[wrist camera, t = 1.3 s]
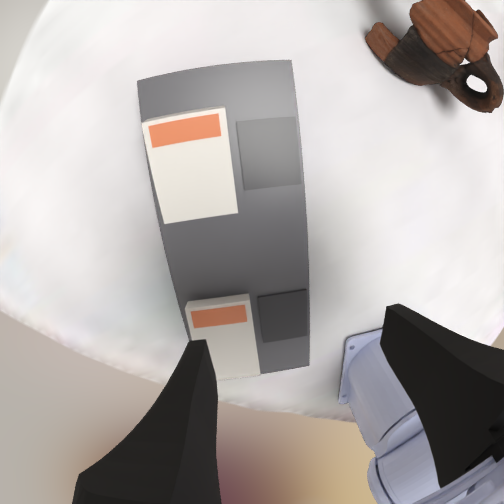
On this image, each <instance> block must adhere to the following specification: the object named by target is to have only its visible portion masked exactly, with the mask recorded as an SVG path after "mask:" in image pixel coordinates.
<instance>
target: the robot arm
mask: <svg viewBox="0 0 504 504" xmlns="http://www.w3.org/2000/svg"><path fill="white" fill-rule="evenodd" d="M352 345H353V346H352ZM350 346H351V347H350ZM338 402H339V404H345V403H349V406H350V408H351V410H352V413H353V415H354V417H355V420H356V422H357V425H358V427H359V429H360V432H361V434H362V436H363V439H364V441H365V443H366V445H367V446H368V447H369V448H370V449H371V450H373V451H374V452H375V455H376V457H374V458H372V459H371V461H370V463H369V468H368V472H367V477H368V483H369V487H370V490H371V492H372V494H373V496H374V498H375V500H376V502H377V503H378V504H504V350H502V349H498V348H494V347H491V346H488V345H485V344H482V343H479V342H476V341H474V340H471V339H468V338H466V337H464V336H461V335H459V334H457V333H455V332H453V331H451V330H449V329H447V328H445V327H443V326H441V325H439V324H437V323H435V322H433V321H431V320H430V319H428V318H426V317H424V316H422V315H420V314H419V313H417V312H415V311H413V310H411V309H409V308H407V307H405V306H403V305H401V304H399V303H398V304H395V305H391V306H387V307H386V313H385V318H384V324H383V329H380V330H377V331H373V332H369V333H365V334H361V335H356V336H352V337H350V338H348V339H347V341H346V346H345V355H344V363H343V371H342V378H341V385H340V392H339V398H338ZM217 404H218V394H217V381H216V374H215V370H214V367H213V363H212V359H211V356H210V352H209V349H208V345H207V341H206V339H201V340H192V341H189V342H188V344H187V346H186V348H185V351H184V353H183V355H182V357H181V359H180V361H179V363H178V365H177V367H176V368H175V370H174V372H173V374H172V376H171V377H170V379H169V381H168V383H167V384H166V386H165V387H164V389H163V391H162V392H161V394H160V395H159V397H158V398H157V400H156V401H155V403H154V404H153V406H152V407H151V409H150V410H149V411H148V412H147V413H146V415H145V416H144V417H143V419H142V420H141V421H140V422H139V423H138V424H137V425H136V427H135V428H134V429H133V430H132V431H131V432H130V433H129V434H128V435H127V436H126V437H125V438H124V440H122V441H121V442H120V443H119V444H118V445H117V446H116V447H115V448H113V450H111V451H110V452H109V453H108V454H107V455H105V456H104V457H103V458H102V459H100V460H99V461H98V462H96V463H95V464H94V465H92V466H91V467H89V468H88V469H86V470H85V471H83V472H82V473H80V474H79V476H78V479H77V482H76V486H75V491H74V497H73V502H72V504H221V496H220V488H219V480H218V470H217V459H216V432H217Z"/></svg>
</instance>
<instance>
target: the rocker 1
mask: <svg viewBox="0 0 504 504" xmlns="http://www.w3.org/2000/svg"><path fill="white" fill-rule="evenodd" d="M141 125H142V130H143V135H144V140H145V145H146V149H147V154H148V159H149V163H150V168H151V172H152V176H153V181H154V185H155V189H156V193H157V197H158V201H159V205H160V209H161V213H162V217H163V220H164V224H168V223H174V222H181V221H187V220H193V219H200V218H207V217H213V216H220V215H227V214H235V213H238V208H237V200H236V192H235V184H234V176H233V168H232V160H231V152H230V144H229V136H228V127H227V119H226V111H225V106H216V107H209V108H203V109H197V110H191V111H185V112H180V113H174V114H169V115H164V116H160V117H155V118H151V119H147V120H145V121H144V122H142V123H141Z"/></svg>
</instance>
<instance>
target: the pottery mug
mask: <svg viewBox="0 0 504 504" xmlns="http://www.w3.org/2000/svg"><path fill="white" fill-rule="evenodd" d="M409 15H410V18H411V21H412V23H413V25H412V26H411V27H410V28H409V30H408V32H407V33H406V35H405V36H404V37H403V39H402V40H399V39H398V38H397V37H395V36H394V35H393V34H392V33H391V32H390V31H389V30H388V29H387V28H386V27H385V25H384V24H383V23H381V22H377V23H375V24H374V25H373V27H372V30H371V31H370V32H369V33H368V35H367V36H366V37H365V40H366V42H367V43H368V45H369V46H370V48H371V49H372V50H373V51H374V52H375V54H376V55H377V56H379V57H380V59H381V60H383V61H384V62H385V64H386V65H387V66H388V67H390V68H391V69H392V70H393V71H394V72H395V73H396V74H398V75H399V76H401V77H402V78H403V79H404V80H406V81H408V82H410V83H413V84H415V85H419V86H422V85H427V84H436V83H439V84H440V86H442V87H444V88H446V89H448V90H449V91H450V92H451V93H452V94H453V95H454V96H455V97H456V98H457V99H458V100H460V101H461V102H462V103H464V104H465V105H466V106H468V107H469V108H471V109H473V110H476V111H478V112H482V113H486V112H488V113H492V111H493V110H494V109H495V108H498V107H499V106H500V105H501V103H502V100H503V95H504V89H503V85H502V82H501V80H500V77H499V76H498V74H497V72H496V71H495V69H494V68H493V66H492V64H491V61H490V57H489V54H488V53H487V52H488V50H489V43H490V42H491V41H493V40H494V39H498V34H497V32H496V31H495V29H494V28H493V26H492V25H491V23H490V22H489V21H488V19H487V18H486V17H485V16H484V14H483V13H482V12H481V11H480V10H477V11H474V10H473V9H472V8H471V7H470V5H469V4H468V3H467V2H466V1H465V0H422V1H420V2H417V3H414V4H413V5H412V8H411V9H410V14H409ZM464 58H465V59H466V60H467V61H469V62H470V63H468V64H464V65H460V64H461V63H462V62H463V60H464ZM470 75H474V76H475V77H478V78H480V79H481V80H483V81H484V82H485V84H486V85H487V91H486V92H484V93H483V92H478V91H475V90H473V89H471V88H470V87H469V86H468V85H467V83H466V81H467V78H468V77H469V76H470Z"/></svg>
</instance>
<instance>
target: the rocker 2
mask: <svg viewBox="0 0 504 504" xmlns="http://www.w3.org/2000/svg"><path fill="white" fill-rule="evenodd" d="M185 312H186V317H187V321H188V325H189V330H190V334H191V338H192V340H201V339H206V341H207V345H208V349H209V352H210V356H211V359H212V363H213V367H214V370H215V374H216V381H218V380H228V379H236V378H244V377H252V376H259V375H261V374H260V367H259V360H258V353H257V346H256V339H255V333H254V326H253V319H252V311H251V304H250V298H249V293H247V294H240V295H233V296H226V297H218V298H210V299H203V300H195V301H188V302H187V305H186V307H185Z"/></svg>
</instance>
